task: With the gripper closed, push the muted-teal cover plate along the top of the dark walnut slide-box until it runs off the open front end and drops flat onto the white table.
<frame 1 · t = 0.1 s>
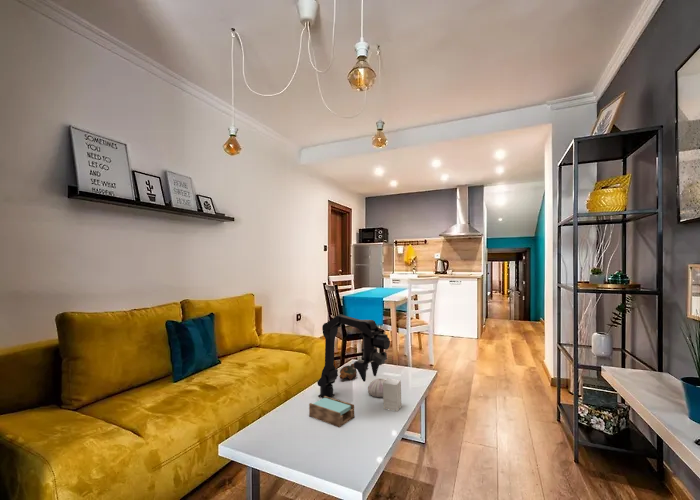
hand: (369, 378, 158), 15 cm above the table, fingers open, 9 cm apart
cover plate: (331, 408, 150), point 4 cm above the table, touching slide box
supplement box: (392, 408, 159), on the table
decorative turtle: (348, 378, 201), on the table
sea urchin shell: (379, 394, 176), on the table
slide box: (331, 417, 150), on the table
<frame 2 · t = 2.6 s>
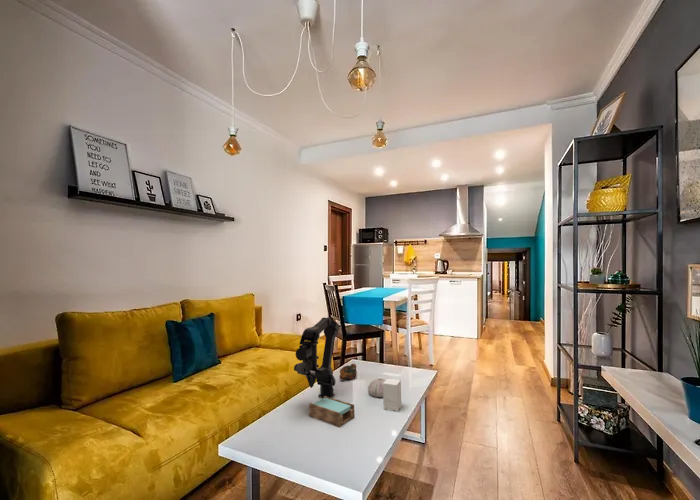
hand: (311, 387, 158), 11 cm above the table, fingers closed
nothing on the table moved.
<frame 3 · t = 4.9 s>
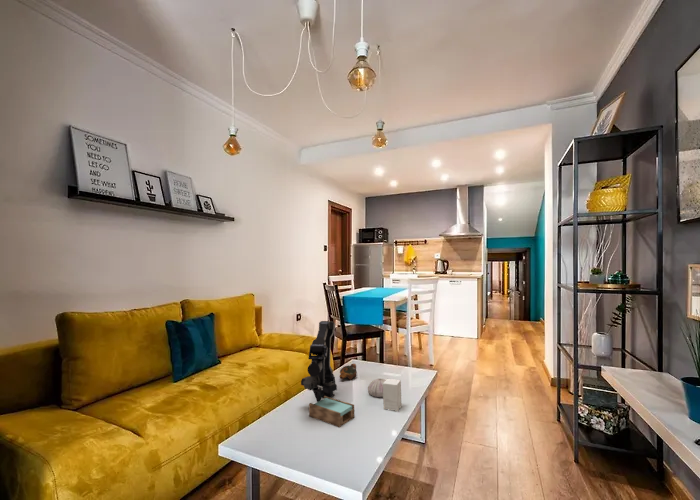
hand: (318, 402, 155), 5 cm above the table, fingers closed
cover plate: (332, 408, 149), point 4 cm above the table, touching gripper
everything else where it was.
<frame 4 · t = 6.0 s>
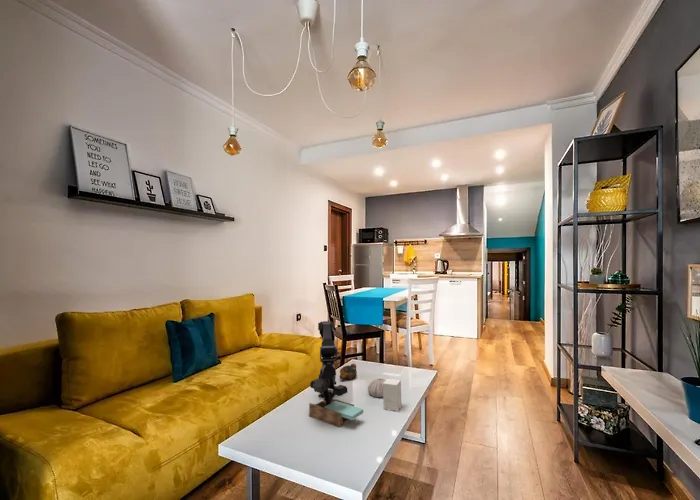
hand: (328, 405, 151), 5 cm above the table, fingers closed
cover plate: (343, 411, 146), point 4 cm above the table, touching gripper, slide box
everything else where it was.
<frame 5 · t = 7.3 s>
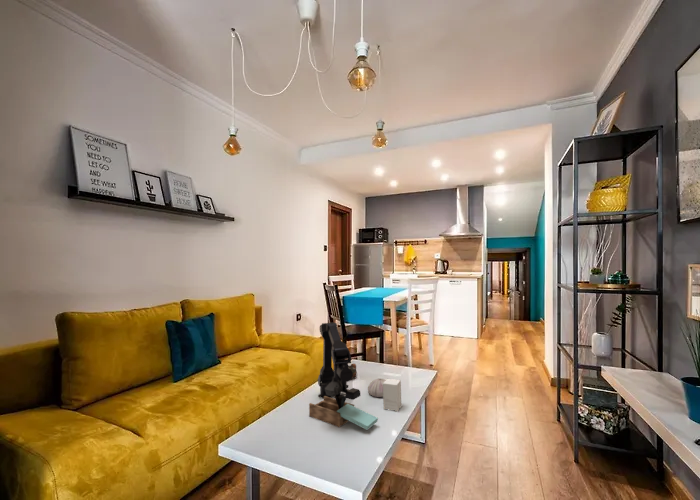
hand: (340, 409, 147), 5 cm above the table, fingers closed
cover plate: (356, 417, 142), point 3 cm above the table, tilted 9°, touching gripper, slide box
everything else where it was.
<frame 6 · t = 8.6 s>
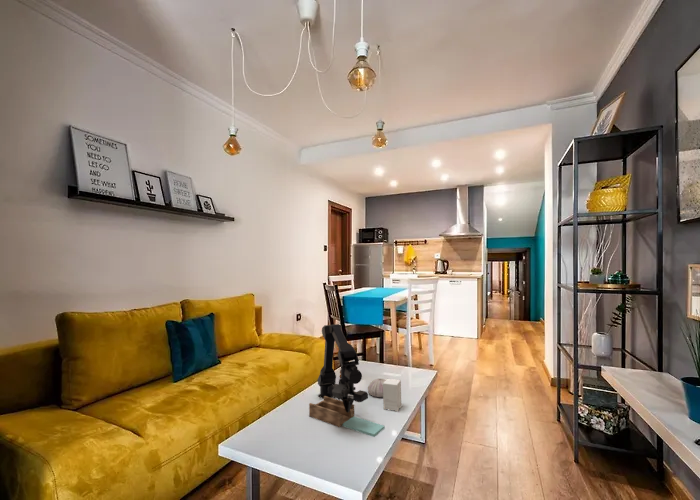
hand: (347, 412, 144), 5 cm above the table, fingers closed
cover plate: (363, 428, 140), on the table
everything else where it was.
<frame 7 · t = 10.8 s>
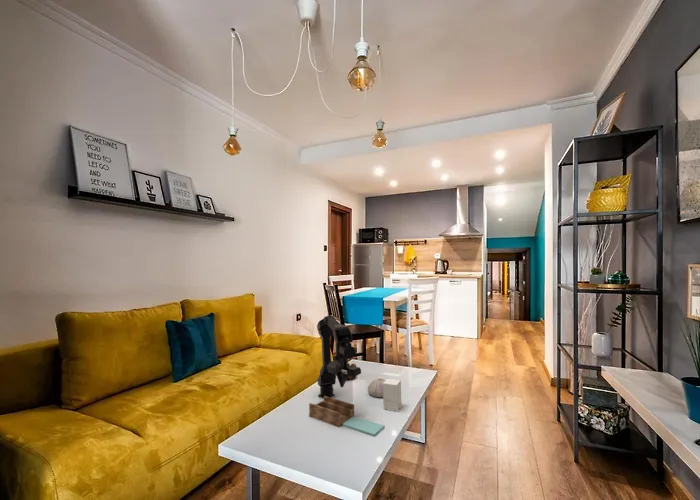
hand: (342, 386, 153), 13 cm above the table, fingers closed
nothing on the table moved.
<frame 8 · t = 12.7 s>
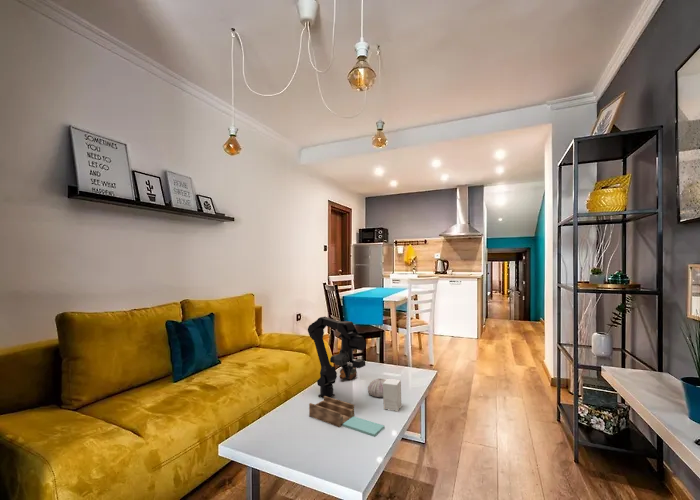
hand: (347, 378, 163), 13 cm above the table, fingers closed
nothing on the table moved.
at the end: cover plate inside the target area (6.3 cm from its centre), on the table; cover plate touching table; the gripper is holding nothing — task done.
